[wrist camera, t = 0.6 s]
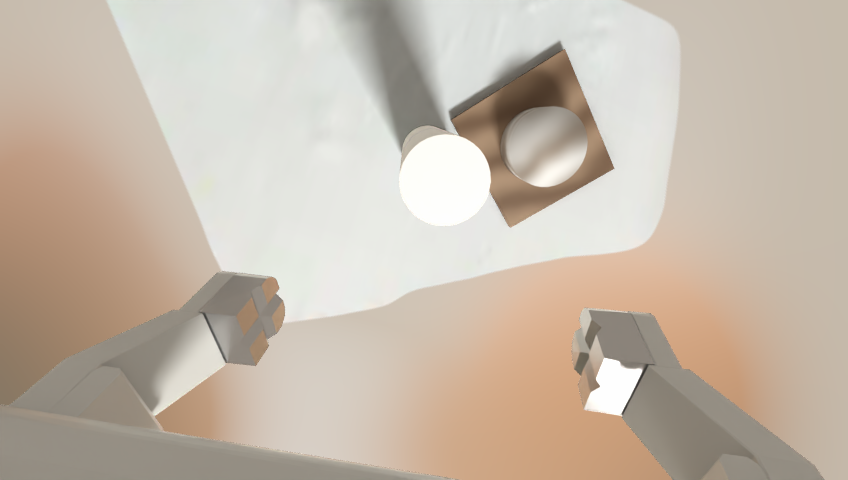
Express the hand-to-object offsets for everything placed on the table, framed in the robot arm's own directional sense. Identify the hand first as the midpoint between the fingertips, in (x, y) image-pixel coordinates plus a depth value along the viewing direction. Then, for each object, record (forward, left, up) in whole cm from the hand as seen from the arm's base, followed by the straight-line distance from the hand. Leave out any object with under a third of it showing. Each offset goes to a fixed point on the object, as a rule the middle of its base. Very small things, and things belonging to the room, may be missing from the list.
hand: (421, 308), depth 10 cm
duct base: (+8, +16, -44) cm, 48 cm away
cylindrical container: (+1, +2, -45) cm, 45 cm away
